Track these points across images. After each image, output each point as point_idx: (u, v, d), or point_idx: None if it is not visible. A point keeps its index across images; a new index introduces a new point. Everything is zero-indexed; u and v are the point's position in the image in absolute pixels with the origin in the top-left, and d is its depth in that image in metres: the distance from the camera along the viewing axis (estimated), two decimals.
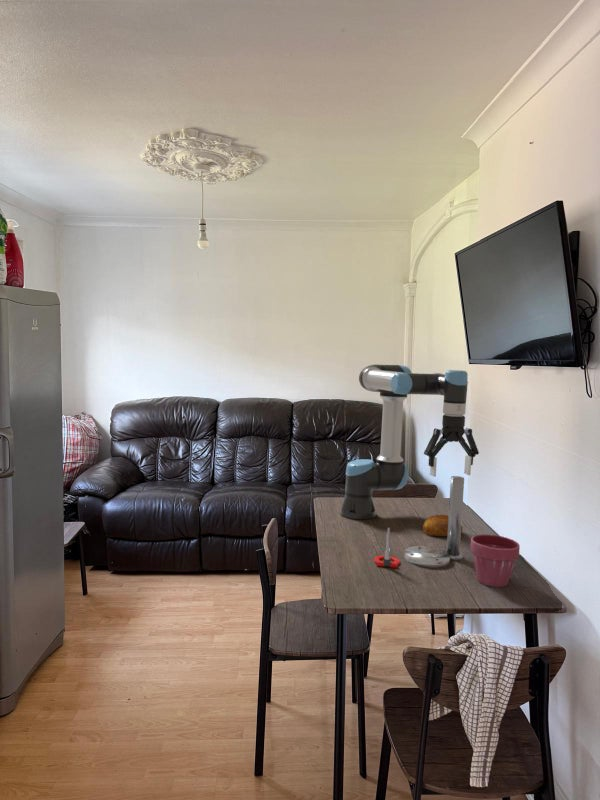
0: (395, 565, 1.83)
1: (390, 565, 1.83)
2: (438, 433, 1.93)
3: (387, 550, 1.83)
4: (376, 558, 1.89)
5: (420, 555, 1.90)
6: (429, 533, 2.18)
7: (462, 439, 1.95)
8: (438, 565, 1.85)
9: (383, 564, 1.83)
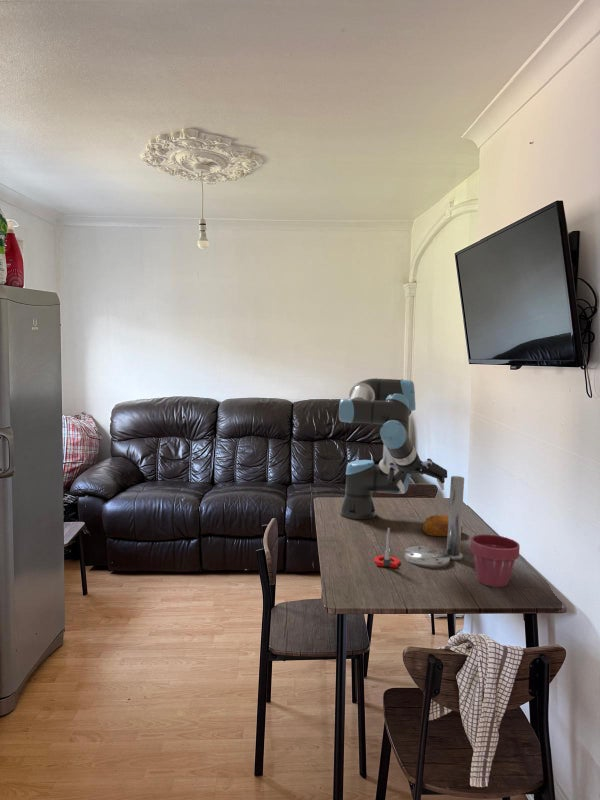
0: (395, 565, 1.83)
1: (390, 565, 1.83)
2: (391, 471, 1.85)
3: (387, 550, 1.83)
4: (376, 558, 1.89)
5: (420, 555, 1.90)
6: (429, 533, 2.18)
7: (421, 473, 1.83)
8: (438, 565, 1.85)
9: (383, 564, 1.83)
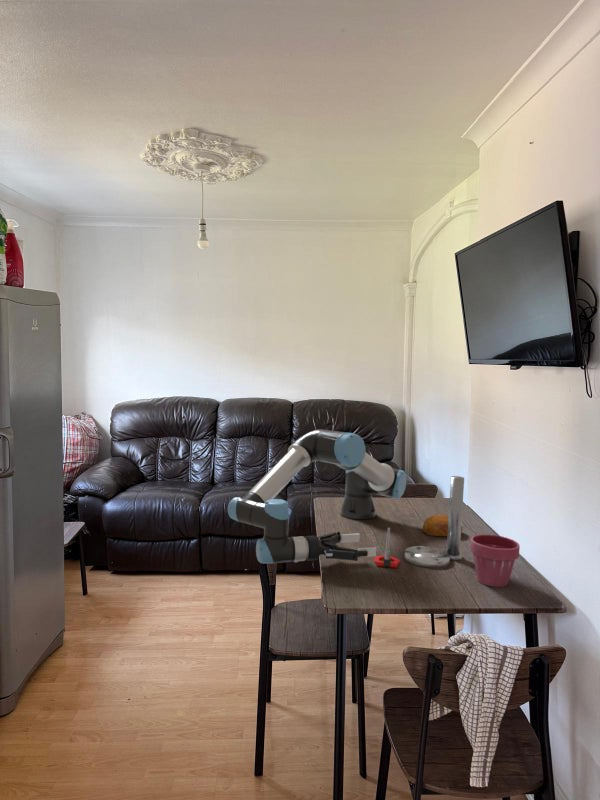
0: (395, 565, 1.83)
1: (390, 565, 1.83)
2: None
3: (387, 550, 1.83)
4: (376, 558, 1.89)
5: (420, 555, 1.90)
6: (429, 533, 2.18)
7: None
8: (438, 565, 1.85)
9: (383, 564, 1.83)
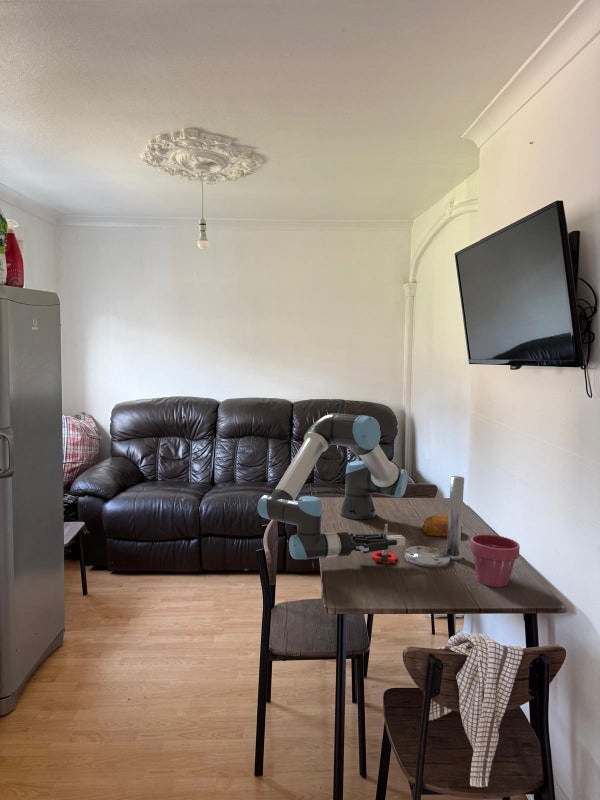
0: (392, 560, 1.86)
1: (387, 560, 1.86)
2: None
3: None
4: (374, 554, 1.92)
5: (420, 555, 1.90)
6: (429, 533, 2.17)
7: None
8: (438, 565, 1.85)
9: (381, 559, 1.86)
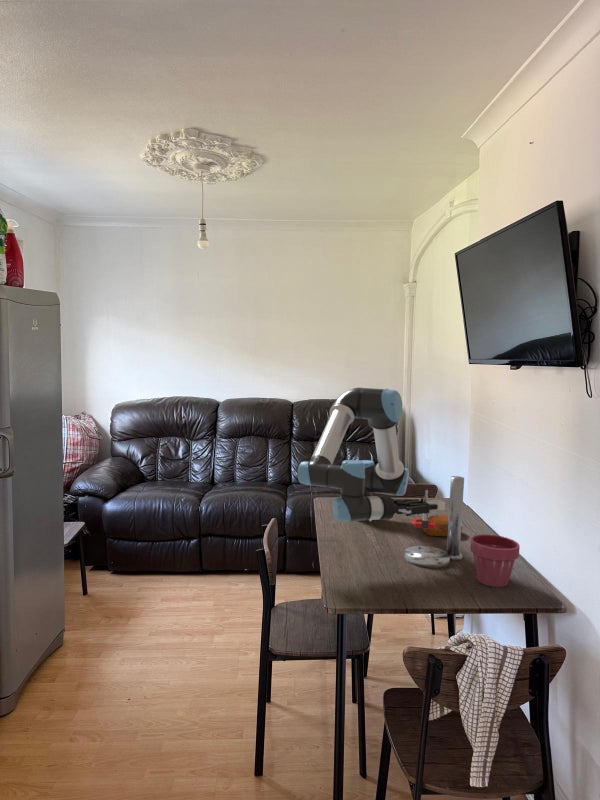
0: (433, 526, 1.89)
1: (428, 526, 1.89)
2: None
3: None
4: (413, 520, 1.95)
5: (420, 555, 1.90)
6: (429, 533, 2.17)
7: None
8: (438, 565, 1.85)
9: (421, 525, 1.89)
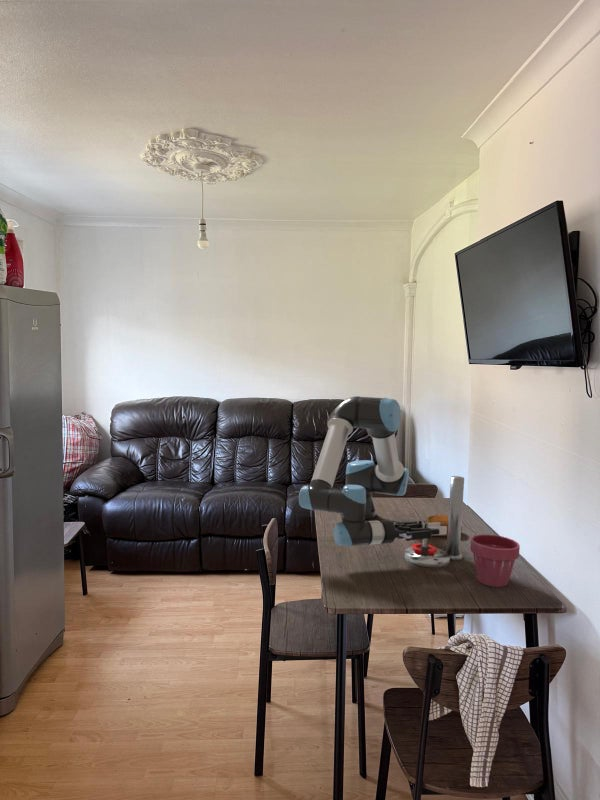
0: (433, 552, 1.90)
1: (428, 552, 1.90)
2: None
3: None
4: (413, 545, 1.96)
5: (420, 555, 1.90)
6: None
7: None
8: (438, 565, 1.85)
9: (421, 551, 1.90)
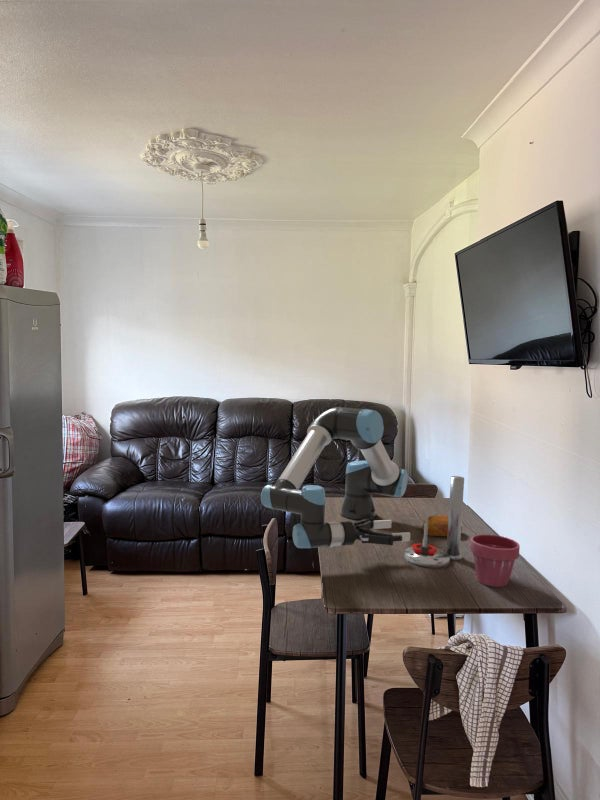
0: (433, 552, 1.90)
1: (428, 552, 1.90)
2: None
3: (425, 538, 1.90)
4: (413, 545, 1.96)
5: (420, 555, 1.90)
6: (428, 533, 2.17)
7: None
8: (438, 565, 1.85)
9: (421, 551, 1.90)
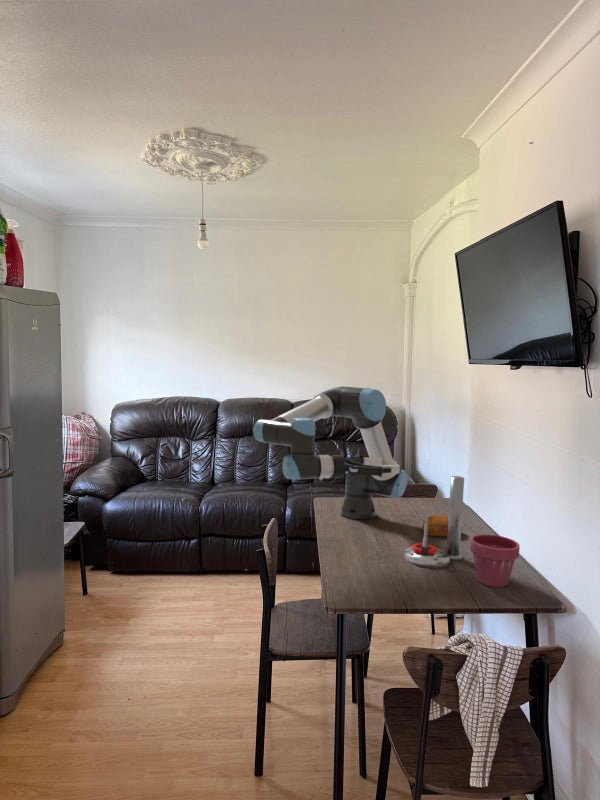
0: (433, 552, 1.90)
1: (428, 552, 1.90)
2: None
3: (425, 538, 1.90)
4: (413, 545, 1.96)
5: (420, 555, 1.90)
6: (428, 533, 2.17)
7: None
8: (438, 565, 1.85)
9: (421, 551, 1.90)
